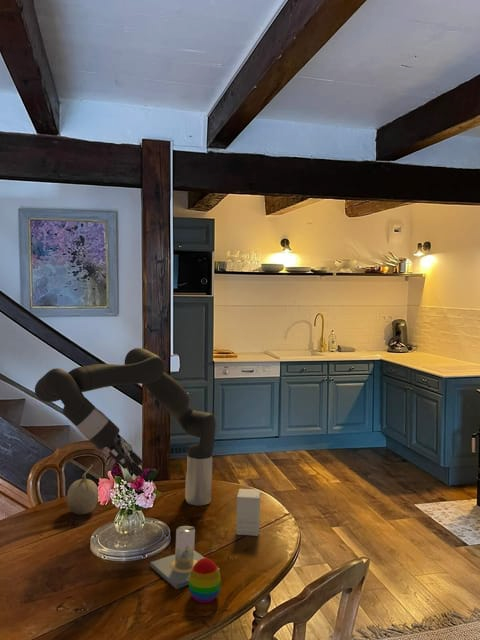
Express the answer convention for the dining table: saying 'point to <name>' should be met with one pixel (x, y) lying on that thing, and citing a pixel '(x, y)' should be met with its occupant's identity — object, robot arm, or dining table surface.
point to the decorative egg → (204, 581)
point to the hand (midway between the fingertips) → (140, 468)
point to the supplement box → (248, 512)
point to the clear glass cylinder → (184, 547)
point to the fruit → (82, 495)
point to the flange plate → (174, 570)
